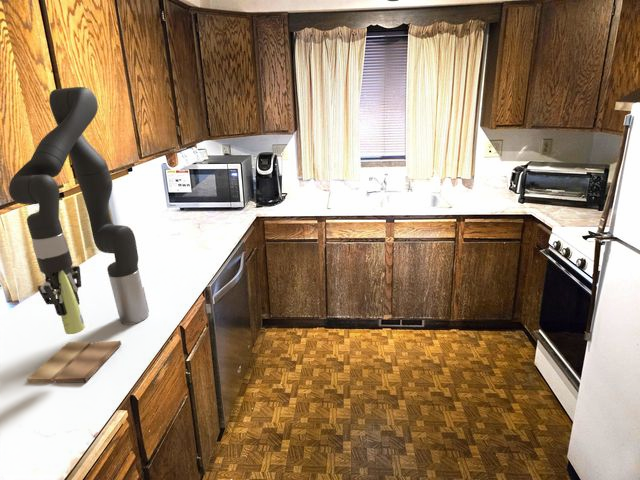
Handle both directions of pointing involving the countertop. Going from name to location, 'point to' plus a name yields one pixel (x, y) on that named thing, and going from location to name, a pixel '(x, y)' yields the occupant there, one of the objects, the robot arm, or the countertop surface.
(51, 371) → the oak board
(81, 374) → the plank
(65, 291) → the tube
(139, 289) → the robot arm
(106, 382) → the countertop surface
